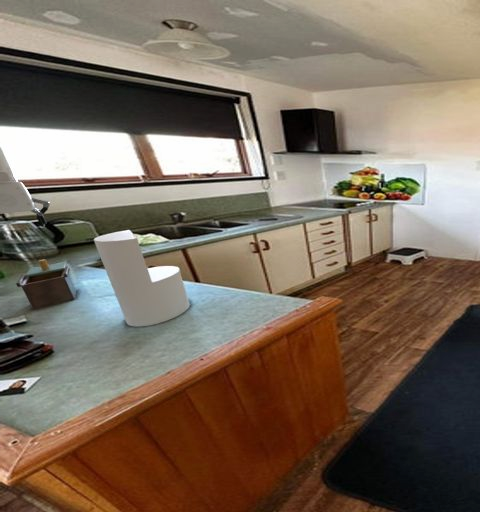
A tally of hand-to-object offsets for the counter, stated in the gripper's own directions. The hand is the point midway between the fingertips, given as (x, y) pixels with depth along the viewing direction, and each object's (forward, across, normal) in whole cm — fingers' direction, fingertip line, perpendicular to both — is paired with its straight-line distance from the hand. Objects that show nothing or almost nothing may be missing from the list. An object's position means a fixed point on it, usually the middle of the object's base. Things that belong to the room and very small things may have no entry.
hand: (22, 228), depth 95 cm
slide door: (+18, 0, +10) cm, 21 cm away
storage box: (+28, 0, 0) cm, 28 cm away
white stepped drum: (+28, +26, -43) cm, 58 cm away
